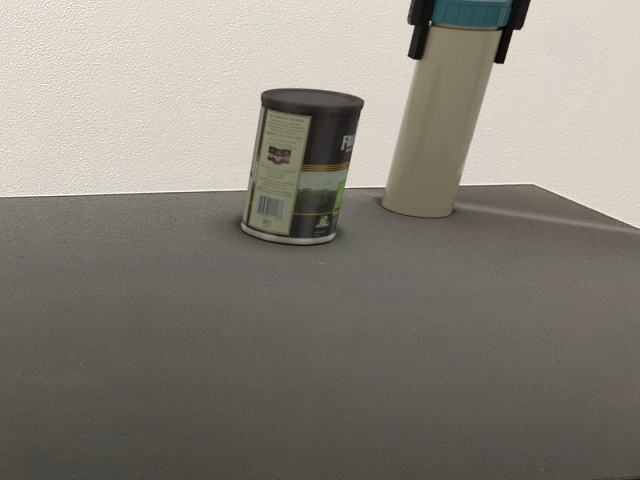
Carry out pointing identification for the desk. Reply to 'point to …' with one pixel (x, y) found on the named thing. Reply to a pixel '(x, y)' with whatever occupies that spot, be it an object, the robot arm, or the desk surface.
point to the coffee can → (300, 164)
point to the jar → (440, 119)
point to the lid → (472, 12)
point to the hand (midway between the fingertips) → (454, 60)
